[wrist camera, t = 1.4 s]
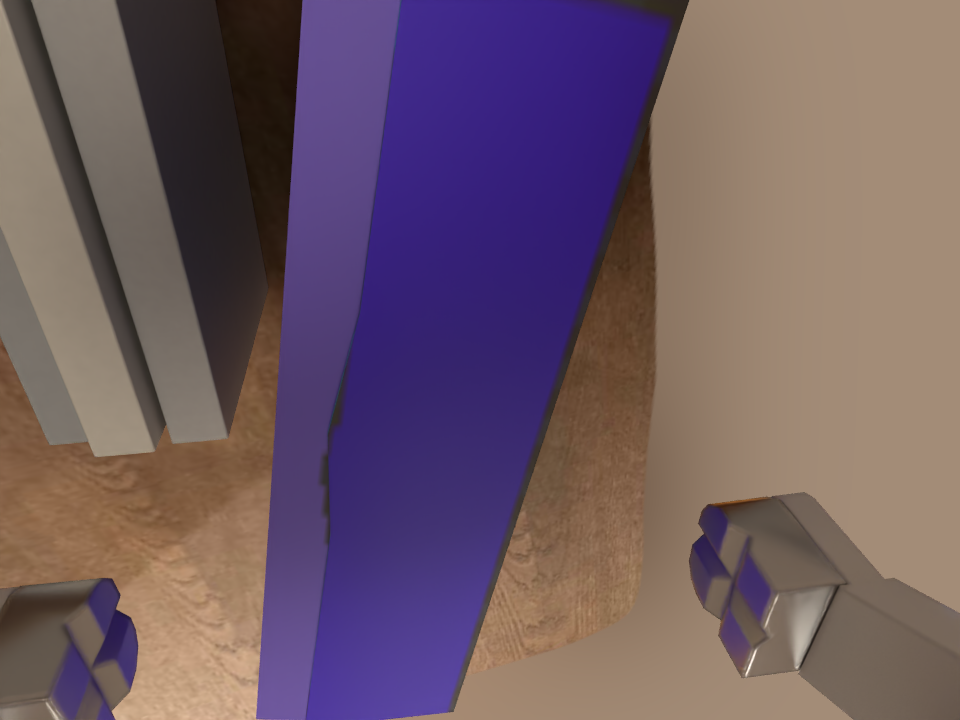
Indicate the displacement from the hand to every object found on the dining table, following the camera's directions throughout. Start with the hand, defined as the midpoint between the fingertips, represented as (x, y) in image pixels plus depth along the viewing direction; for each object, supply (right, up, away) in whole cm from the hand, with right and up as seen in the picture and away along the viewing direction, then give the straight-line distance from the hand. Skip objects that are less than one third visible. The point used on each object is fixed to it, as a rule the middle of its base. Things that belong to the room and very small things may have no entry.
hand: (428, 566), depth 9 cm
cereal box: (-4, +14, +22) cm, 27 cm away
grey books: (-14, +13, +21) cm, 28 cm away
